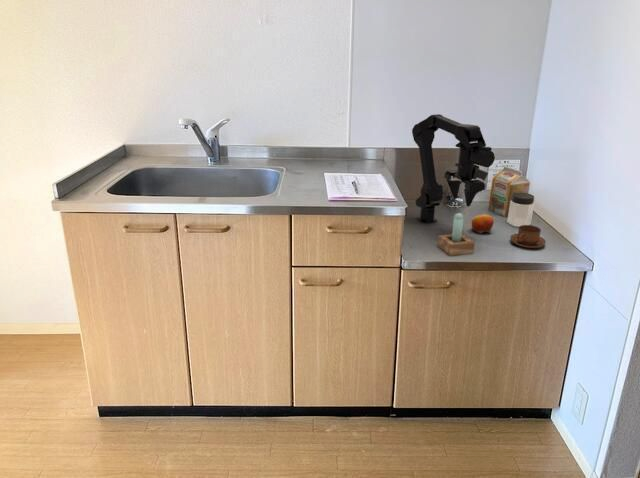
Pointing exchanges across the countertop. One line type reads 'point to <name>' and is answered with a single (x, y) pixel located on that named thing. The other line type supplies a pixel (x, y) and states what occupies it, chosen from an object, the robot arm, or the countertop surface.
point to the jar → (521, 209)
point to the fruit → (482, 223)
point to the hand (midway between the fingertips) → (461, 202)
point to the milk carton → (506, 189)
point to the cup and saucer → (528, 237)
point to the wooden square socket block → (456, 245)
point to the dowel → (457, 227)
